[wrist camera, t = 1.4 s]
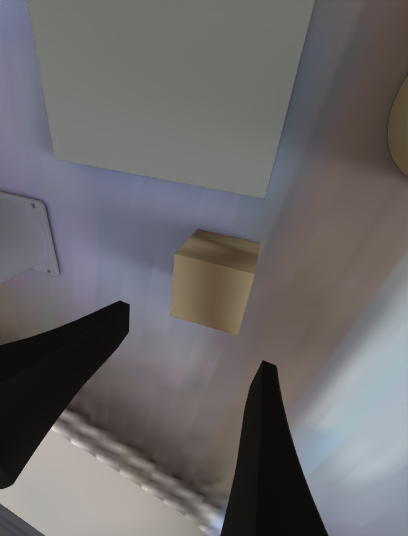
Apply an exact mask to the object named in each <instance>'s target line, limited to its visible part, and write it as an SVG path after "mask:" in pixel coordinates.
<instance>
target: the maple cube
mask: <svg viewBox="0 0 408 536" xmlns="http://www.w3.org/2000/svg"><path fill="white" fill-rule="evenodd" d="M259 249H260V243H257V242H252V241H248V240H243V239H239V238H235V237H230V236H226V235H221V234H217V233H212V232H208V231H203V230H199V229H198V230H197V231H196V232H195V233H194V234H193V235H192V236H191V237H190V238H189V239H188V240H187V241H186V242H185V243H184V244H183V245H182V247H181V248H180V249H179V250H178V251H177V252H176V253H175V254H174V268H173V281H172V295H171V309H170V316H174V317H177V318H180V319H184V320H187V321H190V322H194V323H197V324H200V325H204V326H207V327H210V328H214V329H217V330H220V331H224V332H227V333H230V334H234V335H237V336H238V333H239V329H240V326H241V322H242V319H243V315H244V311H245V308H246V304H247V301H248V297H249V293H250V290H251V286H252V283H253V279H254V275H255V271H256V265H257V260H258V254H259Z"/></svg>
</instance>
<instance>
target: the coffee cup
mask: <svg viewBox="0 0 408 536" xmlns="http://www.w3.org/2000/svg"><path fill="white" fill-rule="evenodd" d="M388 144H389V149H390V153H391V156H392V158H393V160H394V162H395V163H396V165H397V166H398V168H399V169H400V170H401V171H402V172H403V173H404V174H405V175H406V176H408V76H407V77H406V79H405V80H404V82H403V84H402V86H401V87H400V89H399V91H398V94H397V96H396V98H395V100H394V103H393V106H392V109H391V112H390V116H389V122H388Z"/></svg>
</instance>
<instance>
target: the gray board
mask: <svg viewBox="0 0 408 536" xmlns="http://www.w3.org/2000/svg"><path fill="white" fill-rule="evenodd" d="M27 2H28V8H29V13H30V19H31V25H32V30H33V36H34V42H35V48H36V53H37V59H38V65H39V70H40V76H41V82H42V88H43V93H44V99H45V105H46V111H47V116H48V122H49V128H50V133H51V139H52V145H53V151H54V156H55V159H57V160H62V161H67V162H73V163H78V164H83V165H88V166H94V167H99V168H104V169H109V170H115V171H120V172H125V173H130V174H136V175H141V176H146V177H152V178H157V179H162V180H167V181H173V182H178V183H183V184H188V185H194V186H199V187H204V188H209V189H215V190H220V191H225V192H231V193H236V194H241V195H246V196H252V197H257V198H262V199H265V196H266V192H267V188H268V184H269V180H270V176H271V172H272V168H273V164H274V160H275V156H276V152H277V149H278V145H279V141H280V137H281V133H282V129H283V125H284V121H285V117H286V113H287V109H288V105H289V101H290V97H291V93H292V89H293V85H294V81H295V77H296V73H297V70H298V66H299V62H300V58H301V54H302V50H303V46H304V42H305V38H306V34H307V30H308V26H309V22H310V18H311V14H312V10H313V6H314V2H315V0H27Z"/></svg>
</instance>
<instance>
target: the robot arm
mask: <svg viewBox="0 0 408 536" xmlns="http://www.w3.org/2000/svg"><path fill="white" fill-rule="evenodd" d="M30 269H31V270H35V271H38V272H42V273H45V274H48V275H52V276H57V275H58V274H59V269H58V264H57V260H56V255H55V250H54V246H53V241H52V236H51V232H50V227H49V222H48V218H47V213H46V208H45V205H44V203H43V202H42V201H40V200H36V199H31V198H27V197H23V196H18V195H14V194H10V193H5V192H1V191H0V285H1V284H3V283H5V282H7V281H8V280H10V279H12V278H14V277H16V276H18V275H20V274H22V273H24V272H26V271H28V270H30ZM129 310H130V304H127V303H125V302H122V301H118V302H115V303H113V304H111V305H109V306H107V307H104V308H102V309H100V310H98V311H96V312H94V313H91V314H89V315H87V316H85V317H82V318H80V319H78V320H75V321H73V322H70V323H68V324H65V325H63V326H61V327H58V328H56V329H53V330H50V331H47V332H44V333H41V334H38V335H35V336H32V337H29V338H26V339H22V340H18V341H15V342H11V343H7V344H4V345H0V489H4V488H7V487H9V486H11V485H12V484H14V482H15V481H16V479H17V477H18V476H19V474H20V473H21V471H22V470H23V468H24V467H25V465H26V464H27V462H28V461H29V459H30V458H31V456H32V455H33V453H34V452H35V450H36V449H37V447H38V446H39V444H40V442H41V441H42V440H43V438H44V437H45V436H46V434H47V433H48V431H49V430H50V429H51V427H52V426H53V424H54V423H55V422H56V420H57V419H58V418H59V416H60V415H61V414H62V412H63V411H64V409H65V408H66V407H67V405H68V404H69V403H70V402H71V400H72V399H73V398H74V396H75V395H76V394H77V392H78V391H79V390H80V389H81V388H82V386H83V385H84V384H85V383H86V382H87V381H88V380H89V379H90V377H91V376H92V375H93V374H94V373H95V372H96V371H97V370H98V369H99V368H100V367H101V366H102V364H103V363H104V362H105V361H106V360H107V359H108V358H109V357H110V356H111V355H112V353H113V352H114V351H115V350H116V349H117V348H118V347H119V345H120V344H121V342H122V341H123V340H124V338H125V337H126V335H127V334H128V332H129ZM0 536H45V535H43V534H42V533H40V532H39V531H38V530H36V529H35V528H34V527H32V526H31V525H29V524H28V523H27V522H25V521H24V520H22V519H21V518H20V517H18V516H17V515H15V514H14V513H13V512H11V511H10V510H8V509H7V508H5V507H4V506H3V505H1V504H0ZM220 536H328V534H327V531H326V529H325V527H324V524H323V522H322V519H321V517H320V515H319V512H318V510H317V507H316V505H315V503H314V500H313V498H312V495H311V493H310V490H309V487H308V485H307V482H306V479H305V477H304V474H303V471H302V468H301V465H300V462H299V459H298V456H297V453H296V450H295V447H294V443H293V440H292V437H291V433H290V430H289V426H288V422H287V418H286V414H285V410H284V405H283V401H282V396H281V391H280V385H279V379H278V371H277V367H276V365H273V364H271V363H268V362H266V361H264V360H263V361H262V363H261V365H260V367H259V369H258V371H257V373H256V375H255V377H254V379H253V381H252V383H251V385H250V389H249V393H248V397H247V401H246V405H245V410H244V416H243V423H242V430H241V437H240V444H239V451H238V458H237V464H236V470H235V475H234V480H233V484H232V489H231V493H230V497H229V502H228V506H227V510H226V514H225V519H224V523H223V527H222V531H221V535H220Z"/></svg>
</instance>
